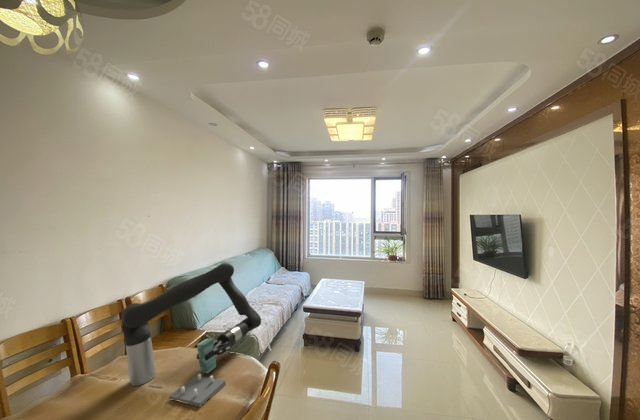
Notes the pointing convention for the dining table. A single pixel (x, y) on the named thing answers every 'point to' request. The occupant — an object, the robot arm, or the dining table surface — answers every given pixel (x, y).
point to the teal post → (204, 349)
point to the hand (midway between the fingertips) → (201, 357)
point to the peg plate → (198, 390)
